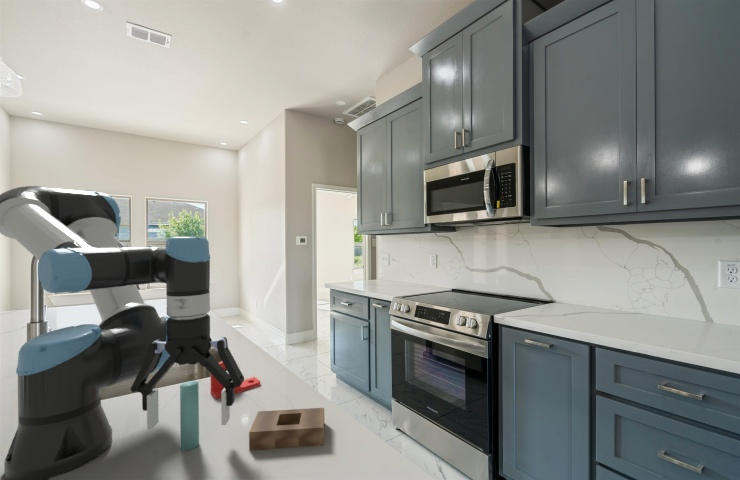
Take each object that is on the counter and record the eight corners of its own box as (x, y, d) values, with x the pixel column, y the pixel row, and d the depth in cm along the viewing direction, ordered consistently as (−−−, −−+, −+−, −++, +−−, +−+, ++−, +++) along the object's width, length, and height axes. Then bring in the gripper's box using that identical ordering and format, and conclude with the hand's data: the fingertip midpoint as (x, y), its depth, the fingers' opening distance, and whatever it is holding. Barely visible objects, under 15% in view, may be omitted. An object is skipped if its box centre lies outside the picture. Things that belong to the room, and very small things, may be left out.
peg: (177, 451, 66) (177, 388, 66) (184, 441, 69) (184, 381, 69) (195, 449, 66) (194, 387, 66) (201, 440, 69) (201, 380, 69)
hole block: (249, 450, 66) (249, 432, 66) (258, 427, 74) (258, 411, 74) (323, 445, 67) (323, 427, 67) (324, 423, 75) (324, 407, 75)
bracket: (216, 399, 87) (216, 368, 87) (210, 393, 91) (210, 363, 91) (261, 385, 96) (261, 357, 96) (254, 380, 99) (254, 353, 99)
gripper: (108, 321, 63) (109, 438, 63) (249, 317, 65) (250, 430, 65) (132, 313, 70) (133, 417, 70) (258, 309, 73) (259, 410, 73)
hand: (189, 423), depth 68 cm, fingers open, 13 cm apart
